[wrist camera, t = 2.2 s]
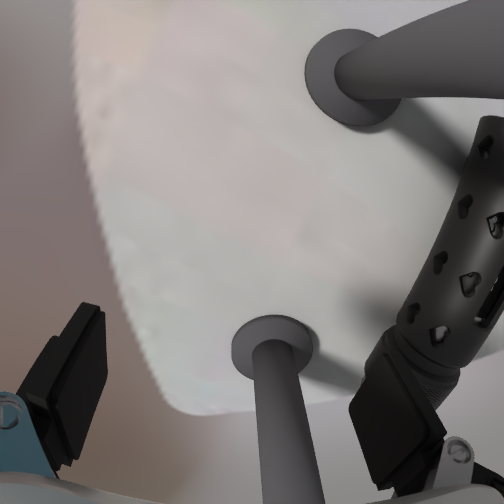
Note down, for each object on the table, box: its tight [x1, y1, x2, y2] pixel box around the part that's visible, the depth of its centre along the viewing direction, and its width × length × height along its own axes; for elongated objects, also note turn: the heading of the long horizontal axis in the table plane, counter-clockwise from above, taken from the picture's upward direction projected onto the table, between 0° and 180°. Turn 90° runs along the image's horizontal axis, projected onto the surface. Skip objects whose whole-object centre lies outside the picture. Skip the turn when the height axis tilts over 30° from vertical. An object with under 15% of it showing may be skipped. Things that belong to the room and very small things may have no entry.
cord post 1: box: [232, 315, 325, 504], centre depth 21 cm, size 8×8×24 cm
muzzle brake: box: [361, 115, 504, 410], centre depth 24 cm, size 10×28×10 cm, turn 162°
